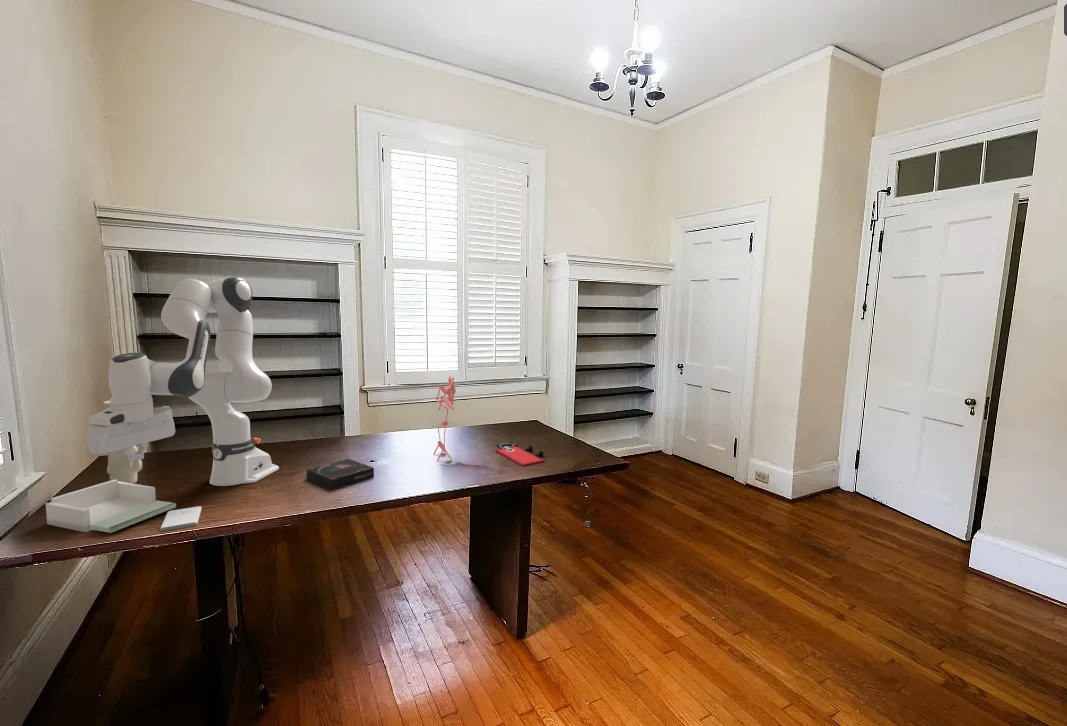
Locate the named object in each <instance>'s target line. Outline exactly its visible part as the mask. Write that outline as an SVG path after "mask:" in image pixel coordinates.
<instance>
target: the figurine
mask: <svg viewBox="0 0 1067 726" xmlns="http://www.w3.org/2000/svg"><path fill="white" fill-rule="evenodd" d="M454 384H455V378H454V376H453V377H452V378H451V375H449V376H448V381H447V387H446V388H445V387H444V386H443V385H442V384H441V383H440V384H439V388H438V392H437V396H436V399H435V403H436V404H438V410H439V411H440V410H441V406H442V407H443V408H444V409H446V416H445V420H444V419H443V420H442V421H441V424H440V425H438V426H437V433H438V439H439V440H438V441H437V446H436V448H435V449H434V450H435V451H433V455H435V454H436V452H437V450H438V448H440V449H441V452H440V453H439V455H438V457H437V459H436V461H439V460H440V458H441V456H442V454H443V452H444V453H445V454H446V455H447V457H448V458H449V459H450V460H451V461H453V458H452V457H451V455H450V454H449V452H448V451H447V450H446V439H445V438H446V430H447V426H448V425H449V421H448V415H449V408H450V409H451V410H453V411H455V407H454V400H455V399H454V397H455V396H454V395H455V394H456V391H457V390H456V386H454ZM440 391H441V393H443V395H441V396H440V401H438V400H439V395H440ZM446 395H447V397H446ZM443 402H444V403H445V404H446V405H447V407H446V406H445V405H443V404H442V403H443ZM448 407H449V408H448ZM440 427H444V431H443V442H442V441H441V436H440V435H441V434H440ZM452 450H454V451H456V449H454V448H453V449H452ZM457 451H458V452H461V453H464V454H466V452H465V451H463V450H459V449H457ZM466 458H467V459H468V457H466ZM437 465H438V466H439V465H440V466H441V465H442V464H441V463H440V464H437Z"/></svg>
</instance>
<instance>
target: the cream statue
mask: <svg viewBox="0 0 1067 726" xmlns="http://www.w3.org/2000/svg"><path fill="white" fill-rule="evenodd" d="M110 402H111V398H109V399H108V400H106V401H103V402H102V405H103V406H104V410H105V409H107V408H109V407H111V403H110ZM138 449H139V447H138V446H137V445H135V446H134V449H133V450H131V451H132V452H133V453H137V451H138ZM107 454H108V456H107V468H106V473H107V474H108V475H109V481H111V480H118V482H119V481H121V482H127V483H133V484H137V481H138V473H139V472H141V471H142V469H143V461H142V459H141V460H137V461H134V462H130V461H129V460H128V455H127V454H126V453H125V452H124V451H123V449H120V450H116V451H112V452H108V453H107Z"/></svg>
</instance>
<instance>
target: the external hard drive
mask: <svg viewBox="0 0 1067 726" xmlns="http://www.w3.org/2000/svg"><path fill="white" fill-rule="evenodd" d="M201 512H202V506H201V505H200V506H192V507H186V508H181V509H171V510H168V511H167V512H166V515H165V516H164V520H163V522H162V524H161V526H160V528H159V531H161V532H166V531H171V530H177V529H183V528H189V527H196V526H198V523H199V520H200V516H201Z"/></svg>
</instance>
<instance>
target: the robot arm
mask: <svg viewBox="0 0 1067 726" xmlns="http://www.w3.org/2000/svg"><path fill="white" fill-rule="evenodd" d="M252 300H253V290H252V288H251V285H250V284H249V283H248V282H247V281H246V280H245V279H243V278H241V277H233V276H232V277H231V276H230V277H227V278H221V279H213V280H211V281H207V282H204V281H201V280H199V279H195V278H187V279H184V280H182V281H181V282H179V283H178V284H177V285H176V287H175V288H174V289H173V290H172V292H171V293H170V295H169V297H168V298H167V300H166V302H165V304H163V305H164V306H163V307H162V310H161V313H160V319H161V321H162V323H163V325H164V326H165V327H166V328H167V329H168V330H169V331H171V333H173V334H175V335H177V336H179V337H183V338H185V339H188V344H187V349H186V355H185V358H184V359H183V360H181V361H179V362H159V361H155V360H151V359H149V358H148V357H147V355H146V354H145V353H141V352H129V353H122V354H118V355H115V356H114V357H111V359H110V362H109V367H108V387H109V390H110V394H111V398H110V399H111V402H110V403H111V407H109V408H107V409H105V408H104V409H103V410H101V411H99V412H96V413H95V414H92V415H90V416H89V417H88V423H89V424H91V426H90V427H89V428H88V429H87V435H86V436H87V439H86V441H87V442H86V444H87V450H88V452H90V453H91V454H94V455H95V454H96V455H103V454H108V452H112V451H116V450H120V449H123V451H124V452H125V453H126V454H127V455H128V460H129V461H130V462H134V461H137V460H141V461H142V460H144V459H145V452H146V450H147V448H148V447H149V443H151V442H154V441H159V440H163V439H165V438H171V437H173V436H174V435H175V433H176V427H175V422H174V418H173V409H171V408H170V407H169V406H166V405H162V406H160V407H154V401H153V397H152V395H155V396H175V397H176V396H177V397H185V398H186V397H187V398H188V399H189V400H191V402H194V403H195V404H197V405H198V406H199V407H201V408H202V409H203V411H204V412H205V413H206V414H207V416H208V418H209V421H210V422H211V429H212V439H213V440H212V441H213V442H212V443H211V454H212V457H213V460H212V466H211V467H212V470H211V475H210V479H209V484H210V485H212V486H217V487H227V486H235V485H241V484H252V483H256V482H258V481H260V480H262V479H264V478H266V477H267V476H269V475H272V474H273V473H275V472H277V471H278V470H280V466H278V464H277V465H276V464H274V463H272V459H271V456H270V454H269V453H268V452H265V451H263V450H261V449H260V448H257V447H256V445H255V444H260V443H261V441H262V440H261V438H260V437H258V438H257V437H254V438H252V437H251V424H250V423H251V421H250V418H249V417H248V416H247V415H246V414H245V413H243V412H241V411H238V410H236V409H235V408H234V407H233V406H232V405H231V403H232V404H233V403H235V404H236V403H253V402H258V401H263V400H266V399H267V398H268V397H269V396H270V394H271V392H272V388H273V387H272V386H273V384H272V380H271V378H270V377H269V376H268V374H266V372H263V371H262V370H261V369H259V367H258V366H257V365H256V363H255V361H254V358H253V357H254V356H253V341H254V322H253V321H254V320H253V316H252V313H251V312H250V310H249V309H250V307H251V305H252ZM214 313H216V314H217V315H218V320H219V321H218V325H217V329H216V337H215V339H216V340H215V348H214V352H215V353H214V354H215V356H216V357H217V359H219V361H221V362H223V363H226V364H228V365H231V366H232V369H231V371H206V365H207V359H208V354H209V348H210V342H211V333H212V332H211V327H210V325H209V323H208V322H207V321H206V318H207V316H208V315H210V314H214ZM134 446H136V447H138V451H137V453H133V452H132V451H131V450H133V449H134Z"/></svg>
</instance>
